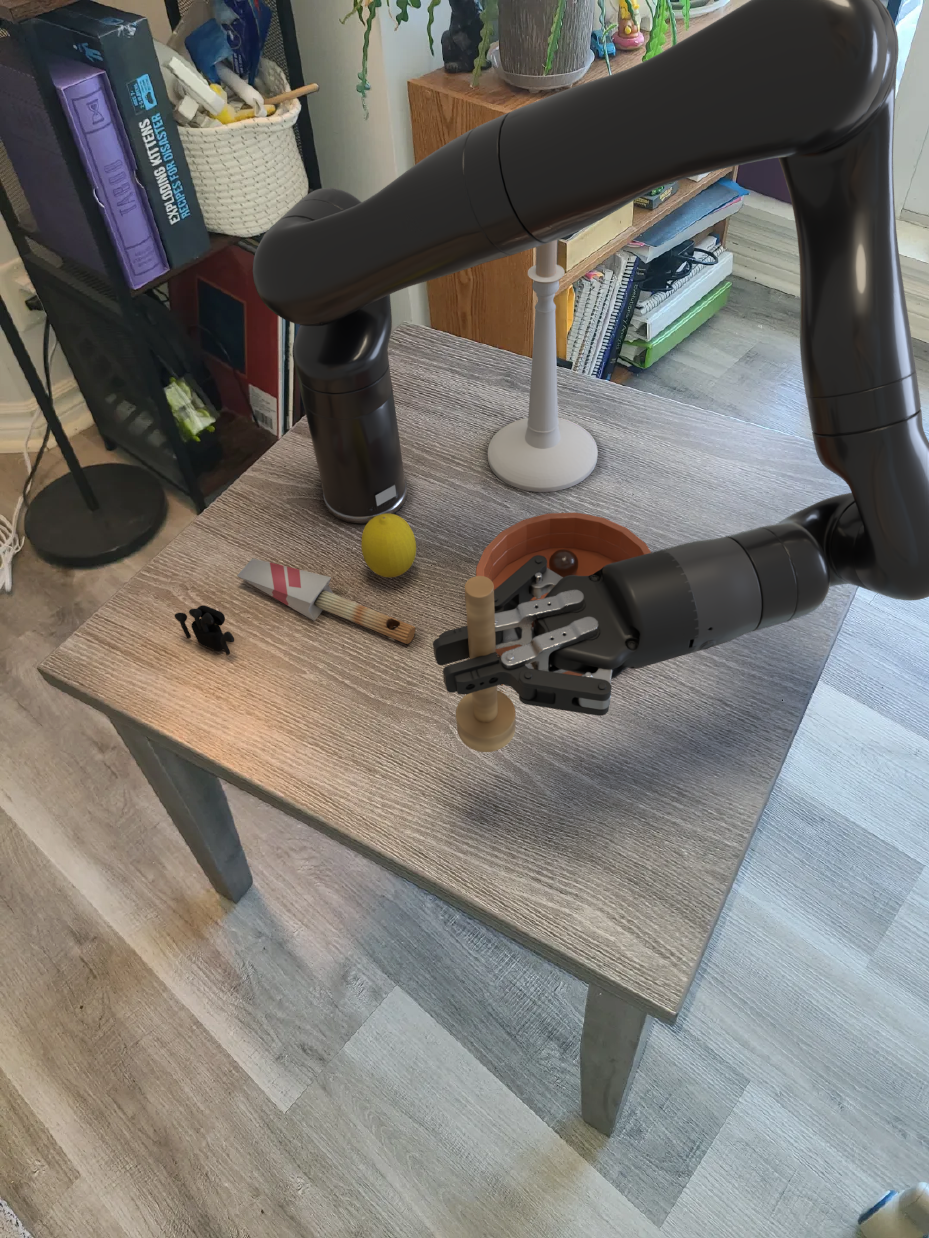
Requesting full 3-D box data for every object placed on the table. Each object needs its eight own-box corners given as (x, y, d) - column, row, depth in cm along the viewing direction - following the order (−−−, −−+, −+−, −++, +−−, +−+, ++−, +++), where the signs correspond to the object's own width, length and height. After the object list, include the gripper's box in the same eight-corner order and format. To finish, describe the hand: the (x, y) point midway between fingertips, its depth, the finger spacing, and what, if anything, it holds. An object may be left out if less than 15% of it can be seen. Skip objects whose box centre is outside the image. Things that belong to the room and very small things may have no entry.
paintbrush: (253, 544, 93) (419, 613, 87) (257, 562, 95) (421, 631, 89) (230, 569, 91) (399, 641, 85) (235, 586, 93) (401, 658, 87)
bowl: (443, 598, 91) (440, 564, 88) (576, 523, 97) (578, 488, 94) (553, 712, 82) (554, 680, 78) (692, 621, 88) (700, 587, 84)
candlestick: (619, 448, 105) (645, 190, 82) (553, 507, 99) (562, 248, 76) (532, 407, 111) (535, 156, 88) (465, 462, 105) (448, 207, 82)
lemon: (426, 560, 95) (420, 504, 89) (407, 597, 92) (399, 542, 86) (378, 549, 96) (369, 494, 90) (358, 586, 93) (346, 531, 87)
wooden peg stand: (445, 722, 68) (429, 581, 56) (492, 693, 69) (486, 550, 57) (479, 762, 66) (470, 625, 53) (527, 732, 67) (529, 591, 55)
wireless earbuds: (181, 639, 90) (165, 606, 86) (196, 622, 91) (182, 589, 87) (237, 663, 87) (224, 630, 83) (252, 645, 89) (240, 612, 85)
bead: (542, 572, 92) (542, 552, 90) (565, 559, 93) (566, 538, 91) (561, 589, 91) (562, 569, 88) (583, 576, 92) (585, 555, 89)
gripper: (641, 498, 64) (407, 558, 61) (734, 640, 56) (468, 717, 53) (631, 569, 70) (417, 627, 67) (714, 708, 61) (473, 780, 59)
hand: (441, 666), depth 60 cm, fingers closed on wooden peg stand, 2 cm apart
